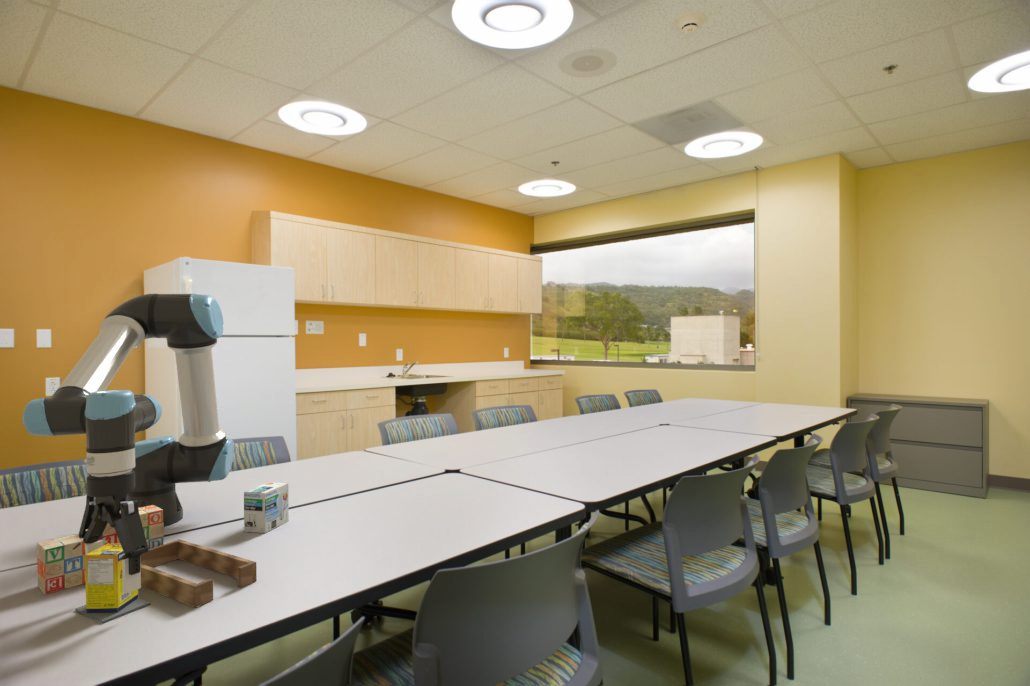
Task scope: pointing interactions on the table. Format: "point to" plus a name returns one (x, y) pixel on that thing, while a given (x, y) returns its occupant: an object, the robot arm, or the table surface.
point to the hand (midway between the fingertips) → (112, 583)
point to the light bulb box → (266, 507)
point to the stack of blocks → (67, 554)
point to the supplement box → (106, 580)
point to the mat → (108, 616)
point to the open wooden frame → (196, 555)
